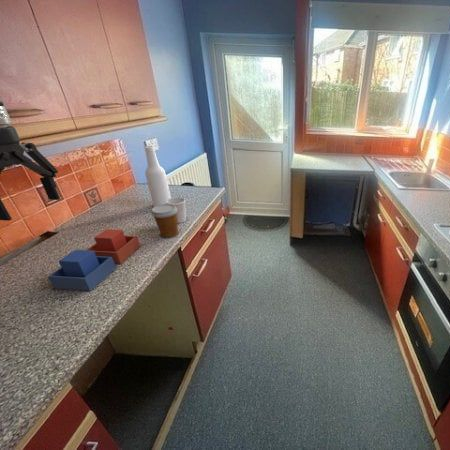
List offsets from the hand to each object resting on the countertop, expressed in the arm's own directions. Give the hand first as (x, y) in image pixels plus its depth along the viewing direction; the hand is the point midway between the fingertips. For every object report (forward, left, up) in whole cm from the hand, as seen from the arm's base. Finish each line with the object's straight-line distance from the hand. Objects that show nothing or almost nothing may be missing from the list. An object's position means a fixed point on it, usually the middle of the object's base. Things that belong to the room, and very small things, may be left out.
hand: (32, 208), depth 68 cm
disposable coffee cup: (+18, +30, -24) cm, 43 cm away
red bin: (+6, +14, -24) cm, 29 cm away
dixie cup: (+16, +43, -24) cm, 52 cm away
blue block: (+6, 0, -24) cm, 24 cm away
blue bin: (+6, 0, -24) cm, 25 cm away
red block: (+6, +14, -24) cm, 28 cm away
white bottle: (0, +58, -24) cm, 63 cm away
